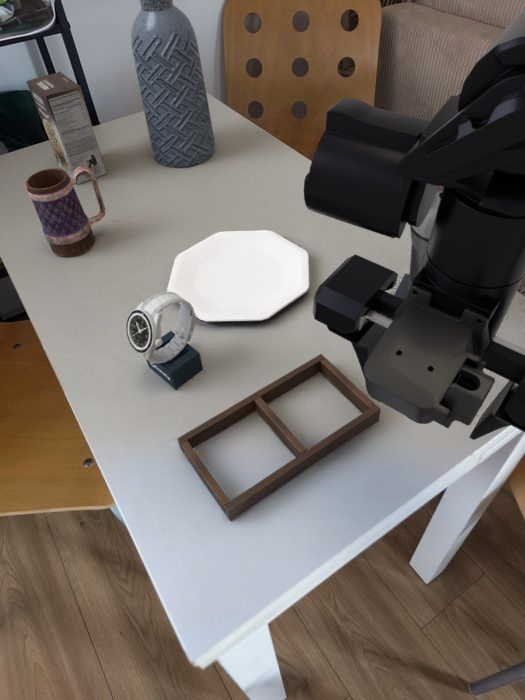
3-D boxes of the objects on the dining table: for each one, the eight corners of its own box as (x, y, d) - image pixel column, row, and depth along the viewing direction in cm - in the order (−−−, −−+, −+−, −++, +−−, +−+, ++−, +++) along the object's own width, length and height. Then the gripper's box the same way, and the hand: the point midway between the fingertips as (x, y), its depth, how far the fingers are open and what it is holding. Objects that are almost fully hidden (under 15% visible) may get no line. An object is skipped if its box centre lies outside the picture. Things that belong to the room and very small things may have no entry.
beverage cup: (392, 284, 71) (413, 143, 56) (445, 279, 71) (481, 137, 56) (404, 321, 66) (431, 177, 51) (461, 316, 66) (505, 171, 51)
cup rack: (379, 420, 57) (381, 408, 55) (230, 522, 50) (227, 512, 48) (320, 365, 62) (321, 353, 61) (180, 449, 56) (176, 438, 54)
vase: (224, 140, 104) (203, -31, 83) (201, 171, 96) (171, -9, 75) (169, 136, 107) (135, -30, 86) (143, 165, 99) (98, -10, 78)
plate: (161, 329, 69) (158, 321, 67) (183, 240, 82) (181, 232, 81) (310, 326, 67) (310, 318, 66) (308, 236, 80) (308, 228, 79)
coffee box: (58, 167, 101) (24, 80, 89) (88, 156, 103) (60, 69, 91) (76, 186, 96) (43, 95, 84) (108, 173, 98) (80, 84, 86)
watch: (135, 375, 63) (110, 310, 55) (186, 340, 67) (169, 273, 59) (163, 400, 61) (140, 335, 52) (214, 362, 64) (200, 295, 56)
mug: (53, 263, 80) (21, 193, 71) (49, 238, 85) (19, 170, 76) (118, 245, 82) (95, 176, 73) (111, 222, 87) (89, 154, 78)
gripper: (267, 266, 30) (269, 414, 42) (607, 432, 23) (493, 555, 34) (364, 181, 36) (342, 333, 48) (663, 291, 28) (548, 439, 40)
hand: (419, 405), depth 42 cm, fingers open, 9 cm apart
